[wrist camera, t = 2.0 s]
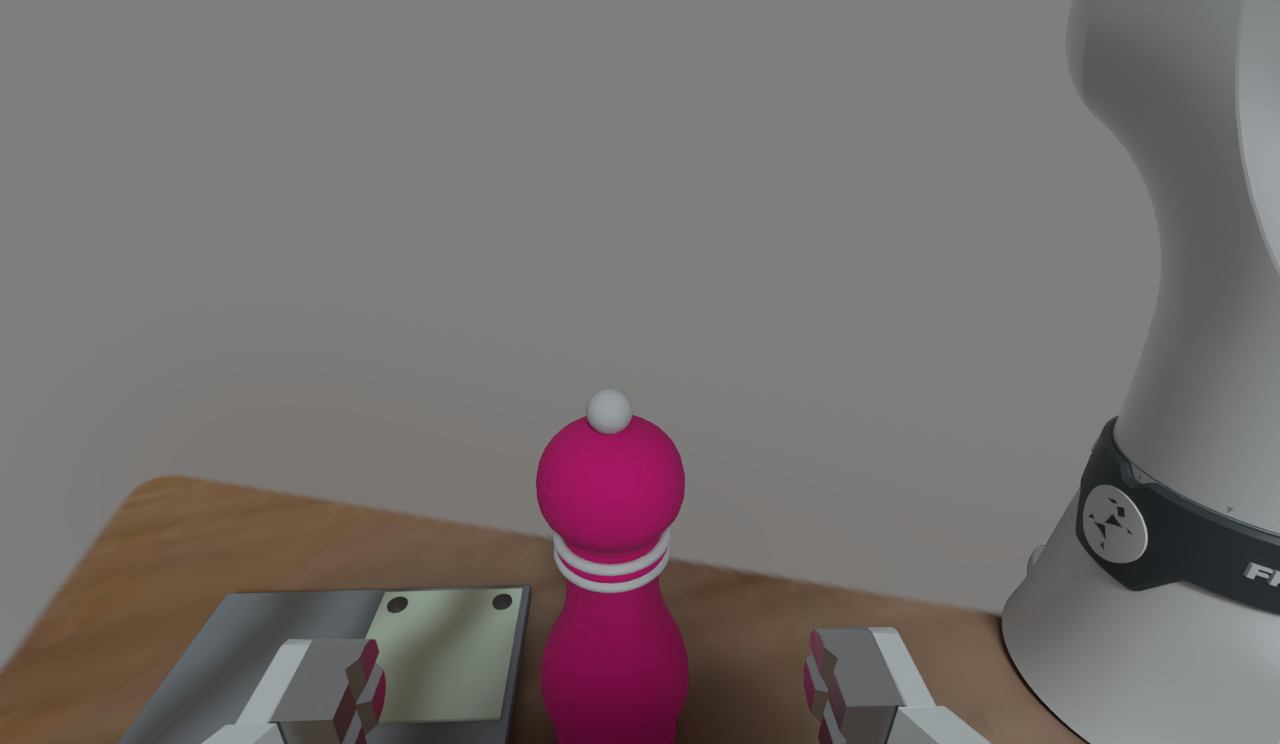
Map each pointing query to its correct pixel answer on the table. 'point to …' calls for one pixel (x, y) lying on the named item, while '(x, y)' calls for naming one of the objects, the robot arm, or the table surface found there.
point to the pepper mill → (612, 578)
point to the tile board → (408, 652)
